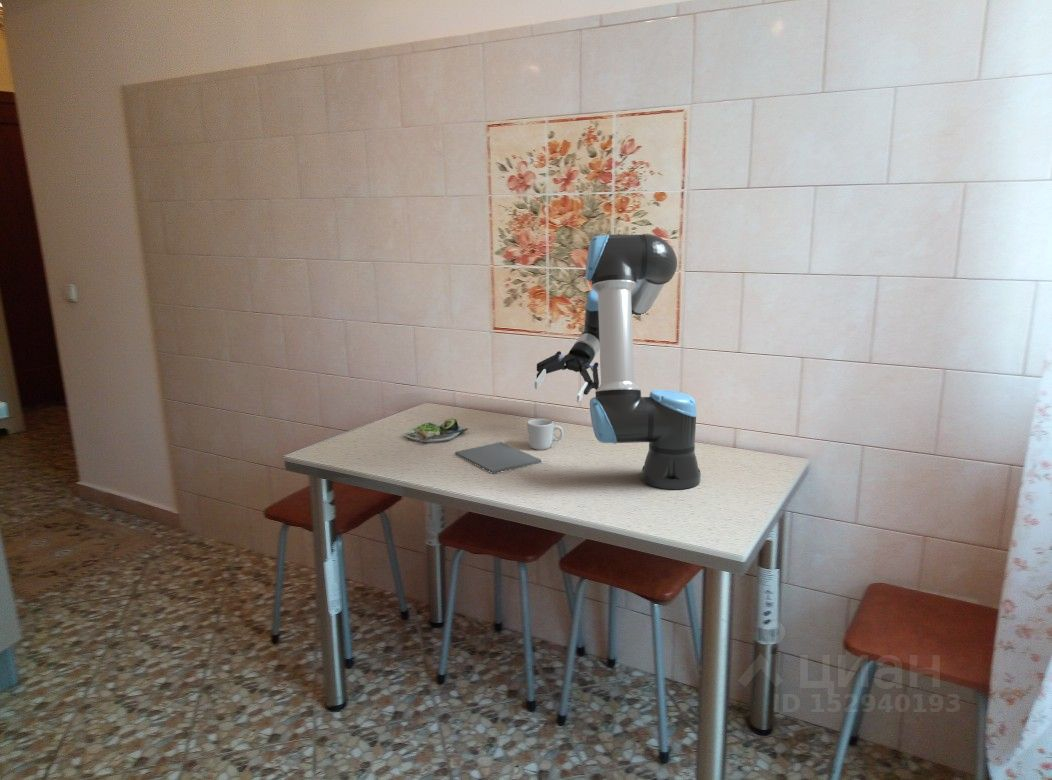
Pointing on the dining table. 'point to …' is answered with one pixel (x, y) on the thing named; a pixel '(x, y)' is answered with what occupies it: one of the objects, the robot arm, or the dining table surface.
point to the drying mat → (498, 457)
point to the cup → (542, 433)
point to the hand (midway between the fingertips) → (556, 392)
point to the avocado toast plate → (436, 431)
